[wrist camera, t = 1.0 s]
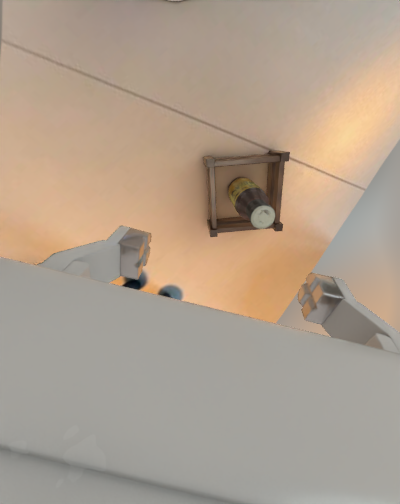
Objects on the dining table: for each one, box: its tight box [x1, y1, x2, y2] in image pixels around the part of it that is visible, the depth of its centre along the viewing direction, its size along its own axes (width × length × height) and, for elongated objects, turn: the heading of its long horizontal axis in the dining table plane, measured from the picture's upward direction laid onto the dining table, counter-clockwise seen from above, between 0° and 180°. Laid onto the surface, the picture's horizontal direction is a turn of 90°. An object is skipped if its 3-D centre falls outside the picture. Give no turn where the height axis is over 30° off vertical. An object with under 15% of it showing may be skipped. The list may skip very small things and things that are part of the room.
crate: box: [203, 151, 290, 237], centre depth 51 cm, size 16×16×7 cm
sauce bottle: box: [229, 178, 275, 229], centre depth 45 cm, size 7×6×20 cm
